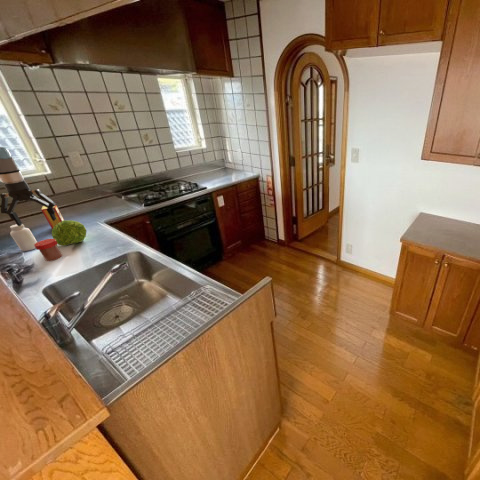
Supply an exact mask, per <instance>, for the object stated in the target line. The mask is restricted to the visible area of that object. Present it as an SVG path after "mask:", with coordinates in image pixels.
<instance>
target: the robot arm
mask: <svg viewBox="0 0 480 480" xmlns="http://www.w3.org/2000/svg"><path fill="white" fill-rule="evenodd" d="M0 182H1V183H2V184H3V186H4V188H5V190H6V191H7V192H8V193H6V192H3V193H1V194H0V198H1V203H0V213H1V214H6V215H8V216H9V218H10V220H12V221H14V222H15V225H16V224H17V225H18V226H21V225H22V224H23V222H22V220H21V218H20V217H19V215H18V214H17V212H16V211H15V208H16V207H17V204H18V202H24V201H29V200H30V201H32V202H35V203H37V204H39V205H41V206H42V207H43V206H45V207H47V211H48V213H49V215H50V217H51V218H52V220H53V221H55V220H56V219H57V218H56V217H55V215H54V213H55V210H54V209H53V207H54V206H55V205H57V203H56V202H55V201H53V200H52V199H51V198H50V197H48V196H47V195H46V194H44V193H43V192H42V190H41V189H40V188H36V189H33V190H32V189H31V188H30V186H29V184H28V183H27V181H26V180H25V177H24V176H23V174H22V171H21V170H20V168H19V167H18V165H17V163H16V161H15V160H14V157H13V155H12V154H11V153H10V151H9V150H8V149H7V148H6V147H4V146H0ZM33 194H34V195H33ZM36 195H37V196H36ZM9 197H11V198H12V200H11V202H10V205H8V203H9ZM8 206H9V207H8Z"/></svg>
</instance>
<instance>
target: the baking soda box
mask: <svg viewBox="0 0 480 480" xmlns="http://www.w3.org/2000/svg"><path fill="white" fill-rule="evenodd" d="M53 209H54V210H55V213H54V215H55V217H56V218H57V219H56V220H55V221H53V220H52V218H51V217H50V215H49V213H48V211H47V207H45V206H43V205H42V207H41V208H40V211H41V213H42V214H43V216H44V217H45V219H46V221H47V223H48V224H49V227H50V228H51V230H52V229H53V227H54V226H55V225H57V224H58V223H60V222H62V221H63V220H65V219H64V217H63V215H62V212H61V210H60V209H59V207H58V206H57V204H56V205H55V206H54V207H53Z"/></svg>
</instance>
